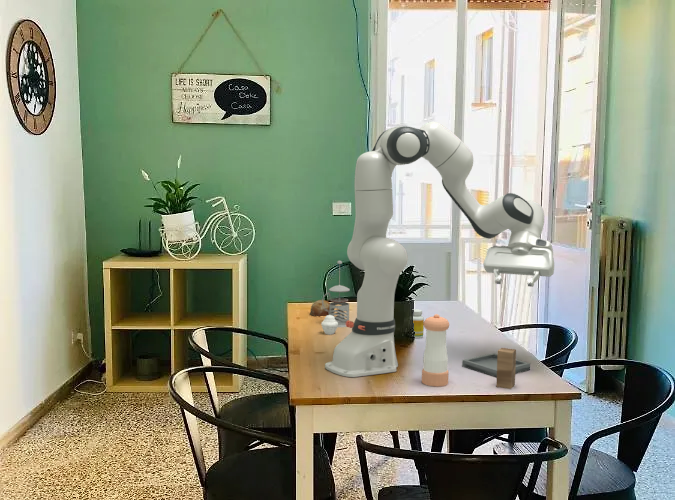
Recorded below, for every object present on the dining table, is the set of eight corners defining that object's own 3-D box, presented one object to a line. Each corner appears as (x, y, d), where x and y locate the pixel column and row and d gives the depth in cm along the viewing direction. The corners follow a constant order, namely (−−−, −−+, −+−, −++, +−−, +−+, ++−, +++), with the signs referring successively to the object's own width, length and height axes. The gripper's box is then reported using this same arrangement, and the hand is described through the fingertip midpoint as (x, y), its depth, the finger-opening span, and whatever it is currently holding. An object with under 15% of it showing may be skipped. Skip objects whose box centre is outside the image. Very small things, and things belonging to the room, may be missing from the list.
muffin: (318, 334, 236) (318, 315, 236) (324, 331, 242) (324, 312, 241) (335, 336, 234) (335, 316, 234) (340, 332, 240) (340, 313, 239)
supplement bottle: (405, 336, 234) (405, 310, 233) (414, 334, 238) (414, 308, 237) (417, 339, 231) (418, 312, 230) (426, 336, 235) (427, 310, 234)
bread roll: (311, 321, 276) (303, 304, 275) (332, 309, 279) (325, 293, 277) (317, 326, 267) (309, 309, 265) (339, 314, 269) (331, 297, 268)
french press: (349, 327, 248) (350, 262, 245) (319, 326, 250) (320, 261, 247) (353, 322, 257) (354, 259, 255) (324, 321, 259) (324, 258, 257)
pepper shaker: (453, 382, 182) (455, 314, 179) (438, 388, 176) (440, 318, 174) (431, 377, 186) (432, 310, 184) (416, 382, 181) (418, 314, 179)
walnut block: (511, 389, 176) (512, 352, 175) (496, 386, 178) (497, 350, 177) (514, 385, 180) (516, 349, 178) (500, 382, 182) (501, 347, 180)
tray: (498, 377, 186) (498, 371, 186) (462, 366, 197) (462, 359, 197) (530, 370, 194) (530, 363, 194) (493, 359, 205) (493, 353, 205)
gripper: (487, 239, 200) (476, 275, 193) (556, 242, 191) (547, 280, 183) (490, 252, 205) (480, 287, 197) (558, 255, 195) (550, 293, 187)
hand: (513, 284), depth 190 cm, fingers open, 8 cm apart
